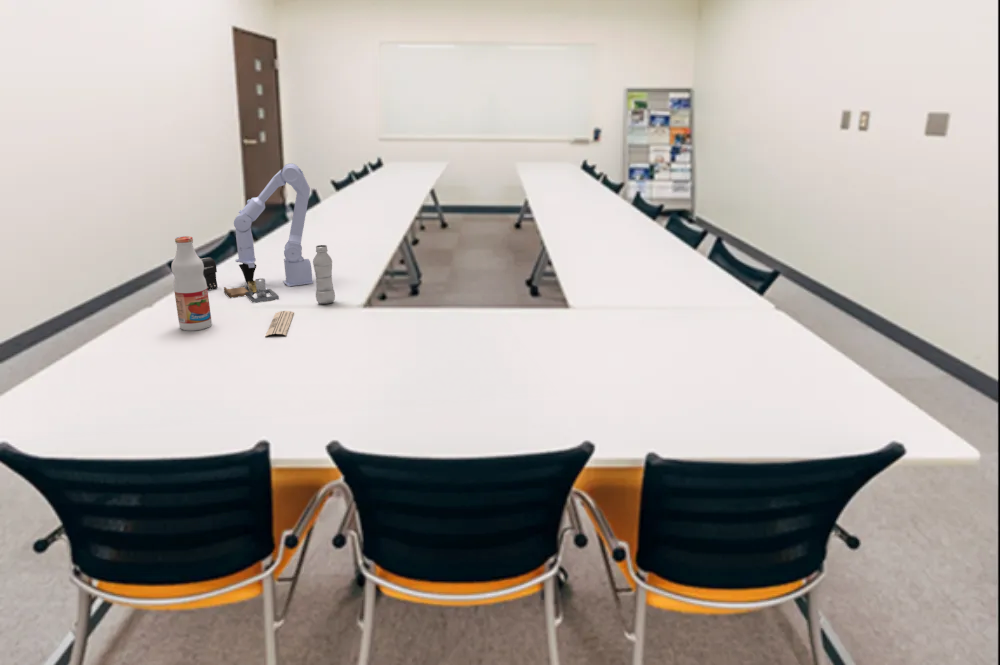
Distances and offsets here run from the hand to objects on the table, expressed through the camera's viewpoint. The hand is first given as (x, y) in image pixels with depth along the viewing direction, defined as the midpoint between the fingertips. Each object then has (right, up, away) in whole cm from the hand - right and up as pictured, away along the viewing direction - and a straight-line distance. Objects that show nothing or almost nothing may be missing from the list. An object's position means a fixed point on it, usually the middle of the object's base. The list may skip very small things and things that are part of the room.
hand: (249, 282), depth 275 cm
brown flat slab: (-1, -4, -10) cm, 11 cm away
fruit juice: (-1, -17, -46) cm, 49 cm away
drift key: (+4, -3, -6) cm, 8 cm away
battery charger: (-14, -3, -4) cm, 14 cm away
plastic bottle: (+34, -9, -21) cm, 41 cm away
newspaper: (+24, -17, -44) cm, 53 cm away
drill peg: (+9, -6, -14) cm, 18 cm away
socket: (+7, -5, -11) cm, 14 cm away
